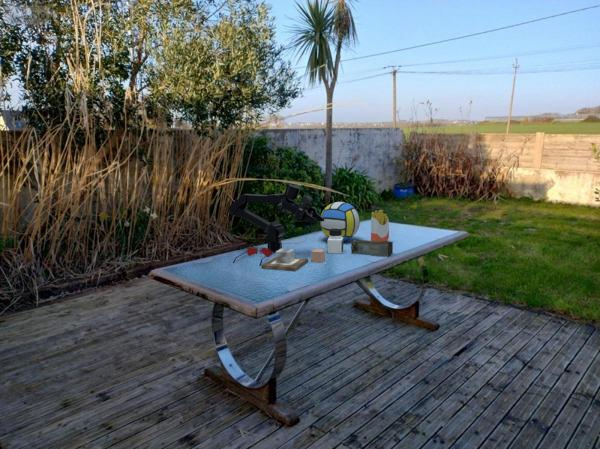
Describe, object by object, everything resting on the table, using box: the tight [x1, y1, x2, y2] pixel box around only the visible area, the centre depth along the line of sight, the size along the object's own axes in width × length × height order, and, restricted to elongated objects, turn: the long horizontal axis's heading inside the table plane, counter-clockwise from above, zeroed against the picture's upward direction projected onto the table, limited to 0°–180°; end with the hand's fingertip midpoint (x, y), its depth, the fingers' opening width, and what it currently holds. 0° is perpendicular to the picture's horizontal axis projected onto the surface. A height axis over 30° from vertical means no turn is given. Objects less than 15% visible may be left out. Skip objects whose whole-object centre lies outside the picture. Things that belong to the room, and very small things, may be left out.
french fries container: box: [370, 209, 390, 242], centre depth 229 cm, size 5×11×18 cm, turn 134°
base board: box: [260, 248, 309, 272], centre depth 191 cm, size 16×16×7 cm
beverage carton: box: [350, 239, 394, 258], centre depth 209 cm, size 8×19×7 cm, turn 63°
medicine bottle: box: [327, 228, 344, 255], centre depth 213 cm, size 7×7×12 cm
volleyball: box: [319, 201, 361, 242], centre depth 238 cm, size 22×22×22 cm
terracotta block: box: [310, 248, 326, 264], centre depth 197 cm, size 5×5×5 cm
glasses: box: [232, 246, 274, 267], centre depth 201 cm, size 14×16×5 cm
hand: (320, 221), depth 202 cm, fingers open, 9 cm apart
